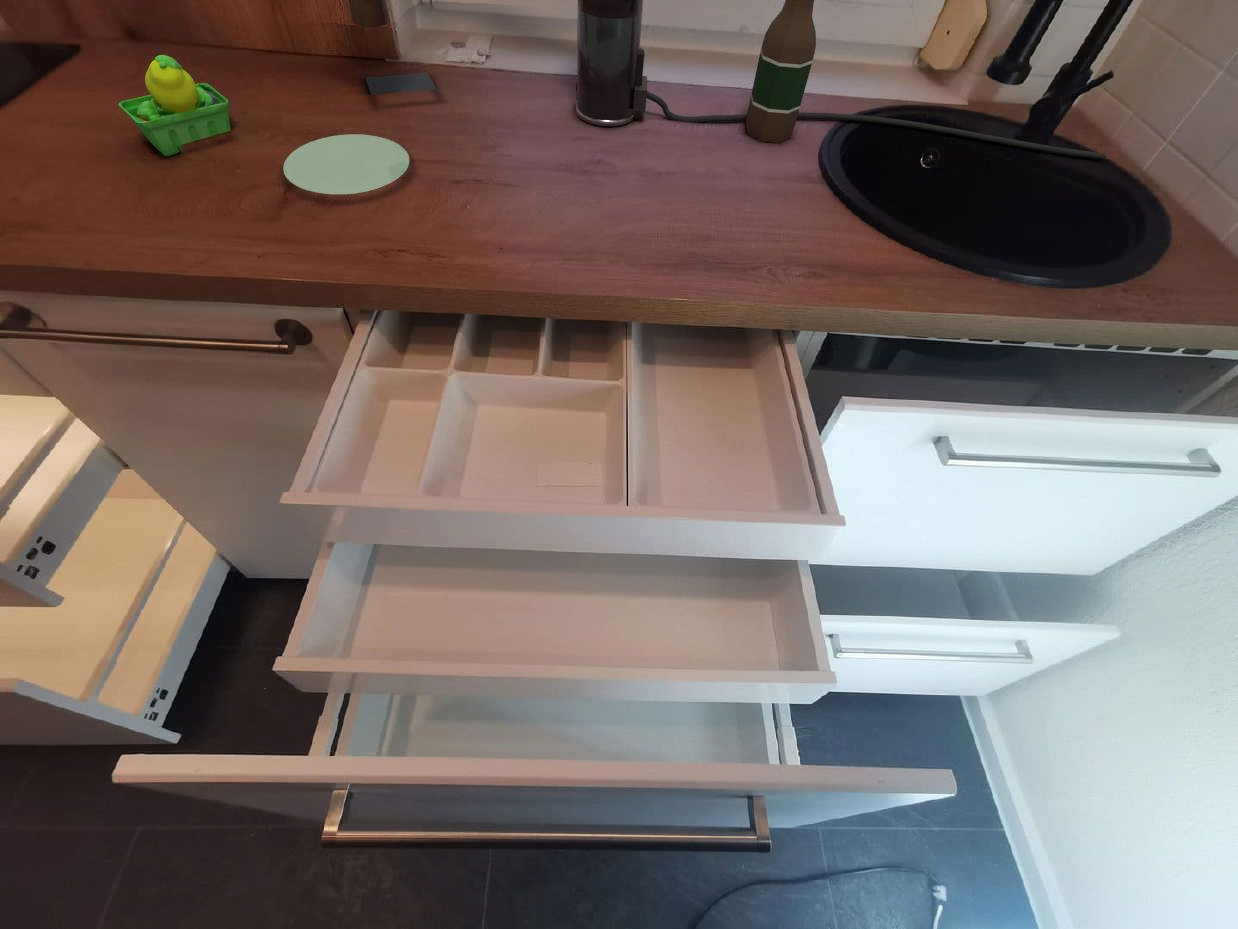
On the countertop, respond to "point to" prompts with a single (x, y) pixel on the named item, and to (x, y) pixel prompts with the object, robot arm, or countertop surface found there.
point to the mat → (400, 83)
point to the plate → (346, 164)
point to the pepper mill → (369, 12)
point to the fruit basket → (176, 108)
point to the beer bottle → (782, 73)
